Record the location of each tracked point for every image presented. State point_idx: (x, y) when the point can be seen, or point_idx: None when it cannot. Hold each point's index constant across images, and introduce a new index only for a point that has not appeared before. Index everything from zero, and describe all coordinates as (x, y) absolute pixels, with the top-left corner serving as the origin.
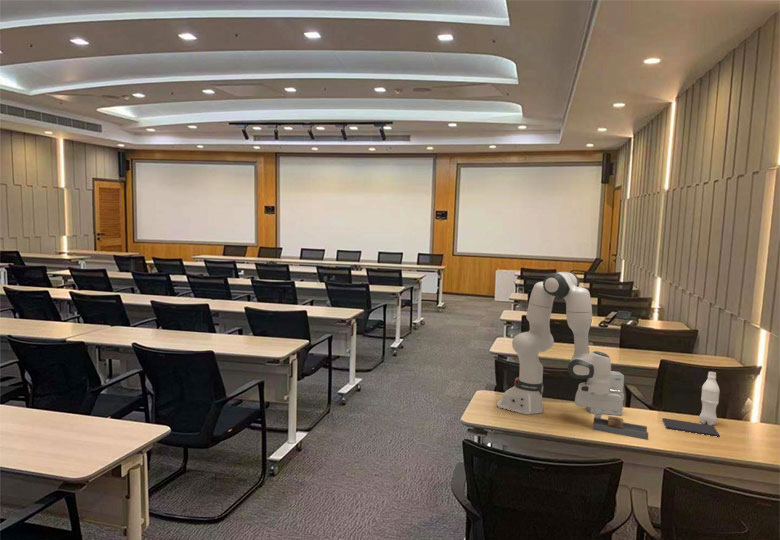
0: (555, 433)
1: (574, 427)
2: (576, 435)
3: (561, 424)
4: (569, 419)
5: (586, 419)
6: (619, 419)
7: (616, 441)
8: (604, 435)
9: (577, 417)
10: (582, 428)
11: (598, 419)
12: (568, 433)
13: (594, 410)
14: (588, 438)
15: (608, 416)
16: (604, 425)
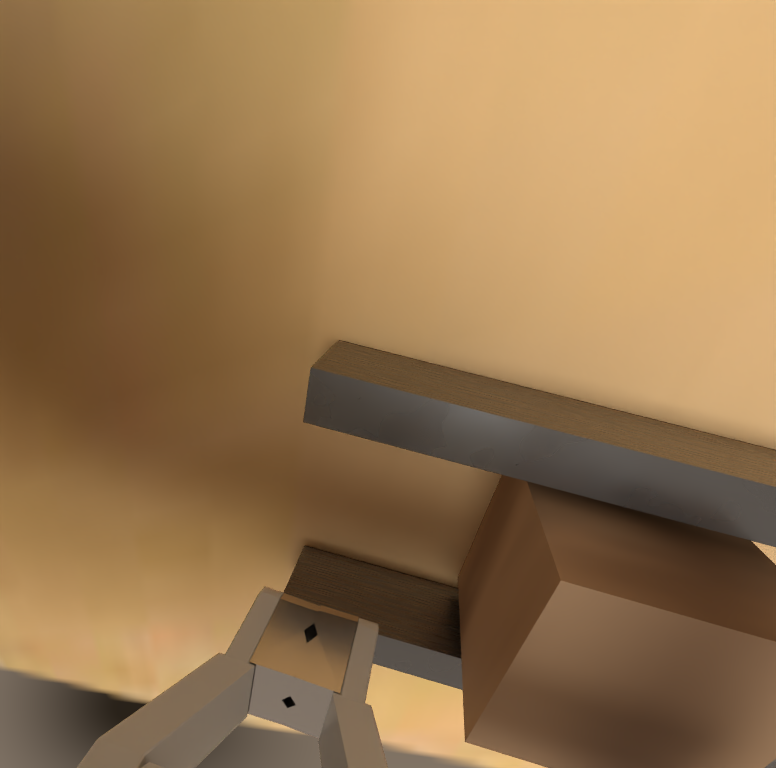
0: (26, 666)
1: (126, 548)
2: (163, 685)
3: (3, 499)
4: (27, 314)
5: (242, 223)
6: (734, 715)
7: (460, 755)
8: (388, 673)
9: (104, 165)
10: (199, 559)
11: (380, 437)
12: (104, 660)
13: (172, 759)
14: (248, 720)
15: (548, 603)
16: (407, 658)
